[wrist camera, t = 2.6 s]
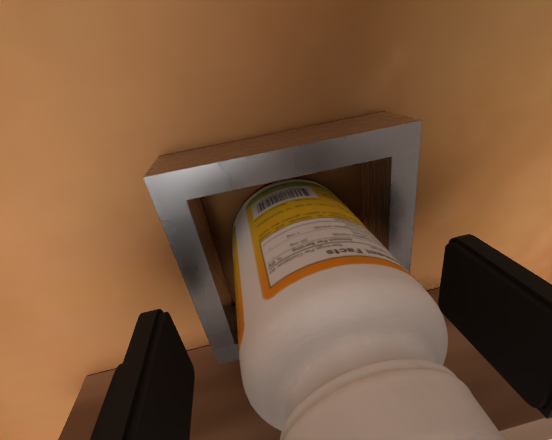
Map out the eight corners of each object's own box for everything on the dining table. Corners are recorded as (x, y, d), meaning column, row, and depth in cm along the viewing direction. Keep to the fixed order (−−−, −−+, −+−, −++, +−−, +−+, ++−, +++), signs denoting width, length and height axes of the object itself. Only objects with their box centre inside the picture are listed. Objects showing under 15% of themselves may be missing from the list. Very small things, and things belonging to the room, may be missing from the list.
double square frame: (158, 156, 11) (143, 177, 9) (383, 111, 12) (422, 120, 9) (265, 451, 22) (270, 494, 20) (378, 419, 22) (394, 457, 20)
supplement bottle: (303, 291, 15) (407, 571, 7) (209, 253, 13) (189, 581, 5) (367, 210, 14) (613, 442, 5) (272, 152, 12) (413, 375, 3)
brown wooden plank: (86, 376, 15) (-4, 579, 9) (500, 272, 17) (656, 384, 11) (103, 397, 16) (31, 595, 10) (493, 297, 18) (633, 413, 12)
